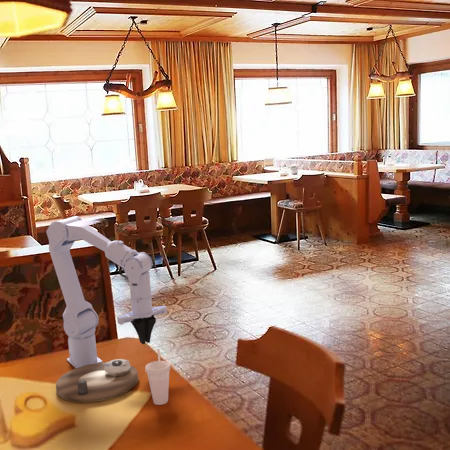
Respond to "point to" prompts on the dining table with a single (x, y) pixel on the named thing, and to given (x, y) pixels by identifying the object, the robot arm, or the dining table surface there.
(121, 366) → the cover
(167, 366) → the smoothie
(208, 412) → the dining table surface
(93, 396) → the turntable
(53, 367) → the dining table surface
